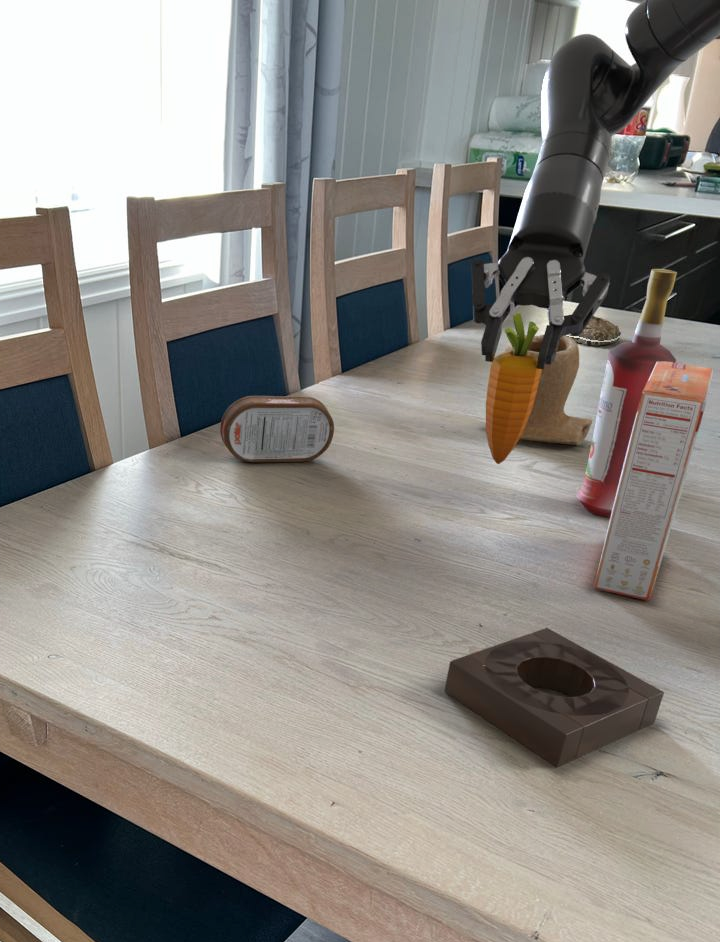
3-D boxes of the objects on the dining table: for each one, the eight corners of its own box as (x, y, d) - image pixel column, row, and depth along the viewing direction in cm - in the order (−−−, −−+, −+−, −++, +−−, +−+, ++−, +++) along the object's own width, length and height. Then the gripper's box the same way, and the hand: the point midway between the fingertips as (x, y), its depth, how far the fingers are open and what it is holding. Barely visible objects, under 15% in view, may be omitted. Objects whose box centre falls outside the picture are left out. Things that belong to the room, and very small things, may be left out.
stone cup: (479, 444, 141) (499, 338, 133) (486, 421, 151) (505, 322, 143) (588, 460, 137) (614, 352, 130) (588, 436, 147) (612, 334, 140)
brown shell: (627, 341, 209) (633, 317, 207) (601, 349, 201) (607, 324, 199) (572, 330, 217) (577, 307, 214) (545, 336, 209) (550, 312, 206)
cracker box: (607, 542, 111) (655, 358, 101) (662, 554, 109) (718, 367, 99) (588, 589, 100) (640, 387, 90) (649, 603, 98) (710, 398, 88)
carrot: (523, 474, 100) (554, 323, 92) (474, 468, 100) (501, 318, 93) (520, 458, 104) (549, 313, 96) (473, 453, 104) (498, 309, 97)
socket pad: (539, 656, 87) (547, 627, 86) (654, 723, 79) (664, 692, 77) (443, 691, 81) (449, 660, 80) (557, 767, 73) (565, 735, 71)
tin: (326, 455, 132) (333, 394, 128) (333, 463, 130) (340, 401, 125) (218, 457, 129) (221, 394, 125) (222, 465, 126) (226, 401, 122)
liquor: (567, 496, 124) (622, 263, 110) (625, 501, 124) (688, 268, 110) (578, 517, 118) (638, 273, 104) (640, 523, 117) (708, 279, 103)
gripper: (485, 183, 98) (440, 328, 94) (635, 195, 93) (594, 348, 89) (486, 234, 104) (444, 372, 101) (625, 248, 100) (587, 392, 96)
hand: (515, 360), depth 95 cm, fingers closed on carrot, 4 cm apart
